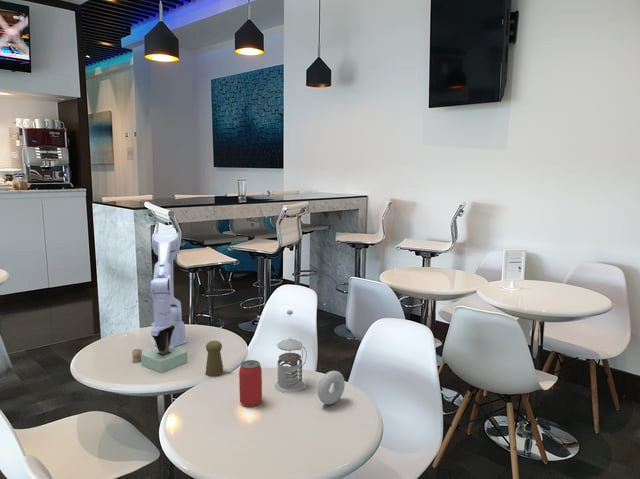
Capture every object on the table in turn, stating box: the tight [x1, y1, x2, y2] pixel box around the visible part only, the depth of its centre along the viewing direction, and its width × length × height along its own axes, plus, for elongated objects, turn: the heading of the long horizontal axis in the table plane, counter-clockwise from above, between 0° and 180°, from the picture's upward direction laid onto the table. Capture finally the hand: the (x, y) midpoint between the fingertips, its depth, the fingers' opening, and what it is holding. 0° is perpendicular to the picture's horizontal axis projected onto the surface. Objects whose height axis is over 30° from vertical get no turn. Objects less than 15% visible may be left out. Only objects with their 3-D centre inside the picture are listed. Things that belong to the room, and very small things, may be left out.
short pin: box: [131, 348, 143, 364], centre depth 168 cm, size 3×3×4 cm
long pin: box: [159, 336, 169, 356], centre depth 165 cm, size 3×3×8 cm
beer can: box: [238, 359, 263, 408], centre depth 138 cm, size 7×7×12 cm
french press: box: [274, 309, 308, 394], centre depth 148 cm, size 10×12×25 cm
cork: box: [205, 340, 224, 378], centre depth 158 cm, size 6×6×11 cm
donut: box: [317, 370, 346, 406], centre depth 137 cm, size 10×4×10 cm, turn 134°
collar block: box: [140, 346, 188, 374], centre depth 165 cm, size 11×11×4 cm
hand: (163, 348), depth 165 cm, fingers closed on long pin, 3 cm apart
